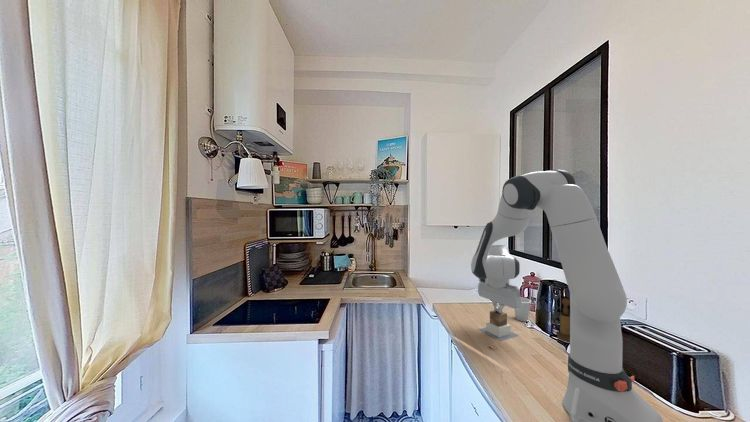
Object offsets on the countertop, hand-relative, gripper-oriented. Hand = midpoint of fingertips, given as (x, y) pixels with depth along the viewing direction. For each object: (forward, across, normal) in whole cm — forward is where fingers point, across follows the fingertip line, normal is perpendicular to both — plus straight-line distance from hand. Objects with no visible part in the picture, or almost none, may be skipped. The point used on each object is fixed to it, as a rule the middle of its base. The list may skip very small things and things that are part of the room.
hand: (498, 311), depth 119 cm
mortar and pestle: (+10, -16, -22) cm, 29 cm away
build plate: (+10, 0, 0) cm, 10 cm away
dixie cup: (+10, +7, -26) cm, 29 cm away
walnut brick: (+5, 0, 0) cm, 5 cm away
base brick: (+9, 0, 0) cm, 9 cm away
